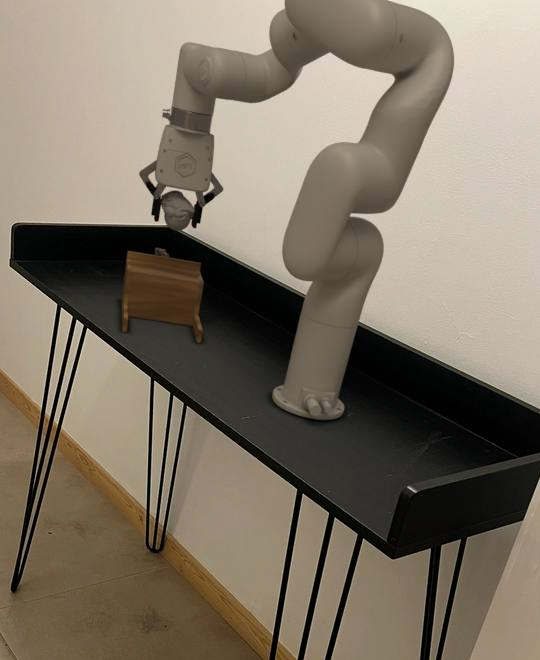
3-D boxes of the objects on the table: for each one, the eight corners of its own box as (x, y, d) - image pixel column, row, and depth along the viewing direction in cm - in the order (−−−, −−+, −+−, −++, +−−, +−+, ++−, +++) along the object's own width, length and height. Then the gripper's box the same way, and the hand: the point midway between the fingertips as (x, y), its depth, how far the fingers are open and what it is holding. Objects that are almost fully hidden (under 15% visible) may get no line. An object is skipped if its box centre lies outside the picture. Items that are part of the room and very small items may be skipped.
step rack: (200, 343, 163) (210, 289, 158) (122, 331, 160) (129, 277, 155) (192, 311, 180) (200, 262, 175) (121, 300, 177) (127, 250, 172)
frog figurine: (166, 223, 164) (171, 186, 160) (197, 233, 162) (203, 195, 158) (150, 226, 159) (155, 187, 155) (182, 236, 157) (188, 197, 153)
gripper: (143, 114, 146) (129, 220, 155) (240, 133, 150) (221, 235, 158) (141, 110, 152) (128, 211, 161) (234, 128, 156) (217, 227, 165)
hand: (175, 222), depth 160 cm, fingers closed on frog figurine, 6 cm apart
